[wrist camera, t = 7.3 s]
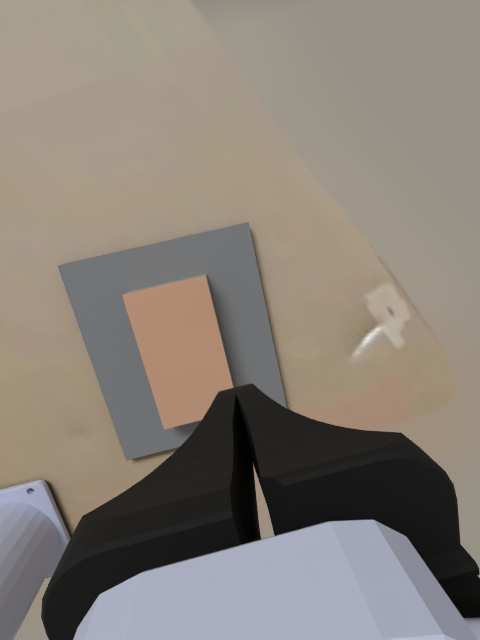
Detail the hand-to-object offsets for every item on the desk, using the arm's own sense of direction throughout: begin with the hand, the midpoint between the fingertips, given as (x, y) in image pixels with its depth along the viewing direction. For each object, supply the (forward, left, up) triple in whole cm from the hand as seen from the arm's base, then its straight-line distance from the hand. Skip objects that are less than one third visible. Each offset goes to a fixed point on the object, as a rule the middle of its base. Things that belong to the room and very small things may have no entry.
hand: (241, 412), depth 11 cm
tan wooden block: (0, 0, -9) cm, 9 cm away
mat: (-3, 0, -10) cm, 11 cm away
